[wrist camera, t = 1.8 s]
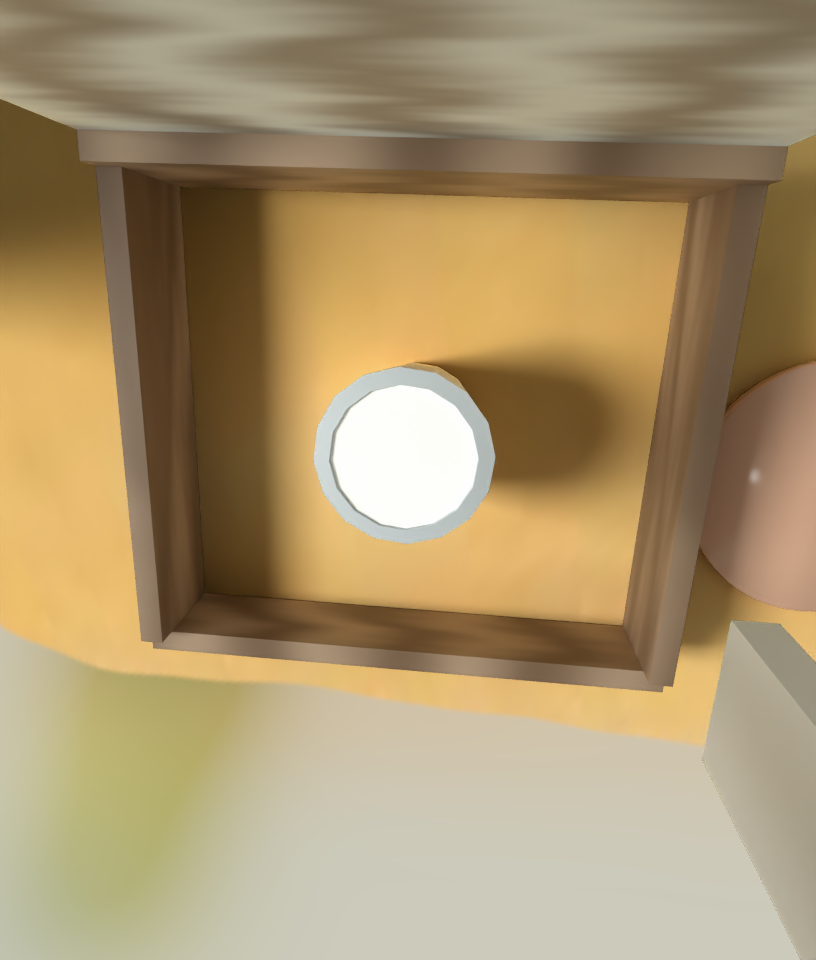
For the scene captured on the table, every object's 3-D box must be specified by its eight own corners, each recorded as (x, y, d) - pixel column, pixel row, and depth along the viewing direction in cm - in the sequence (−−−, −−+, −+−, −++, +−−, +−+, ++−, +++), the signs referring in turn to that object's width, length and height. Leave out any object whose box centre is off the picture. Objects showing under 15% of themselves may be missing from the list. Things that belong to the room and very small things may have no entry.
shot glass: (511, 457, 30) (524, 505, 24) (383, 510, 32) (361, 570, 25) (454, 324, 29) (450, 335, 22) (321, 385, 30) (280, 413, 24)
